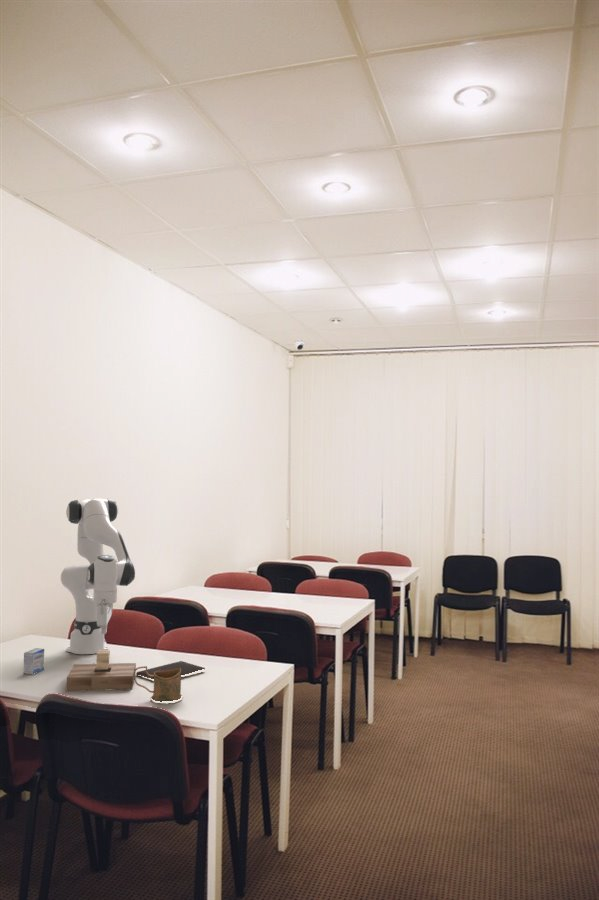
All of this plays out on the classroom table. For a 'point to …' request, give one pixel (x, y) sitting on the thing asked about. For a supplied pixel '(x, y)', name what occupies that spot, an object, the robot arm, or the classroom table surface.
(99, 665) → the peg
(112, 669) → the board
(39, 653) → the medicine box
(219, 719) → the classroom table surface
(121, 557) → the robot arm
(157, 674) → the mug
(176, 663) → the hardcover book
